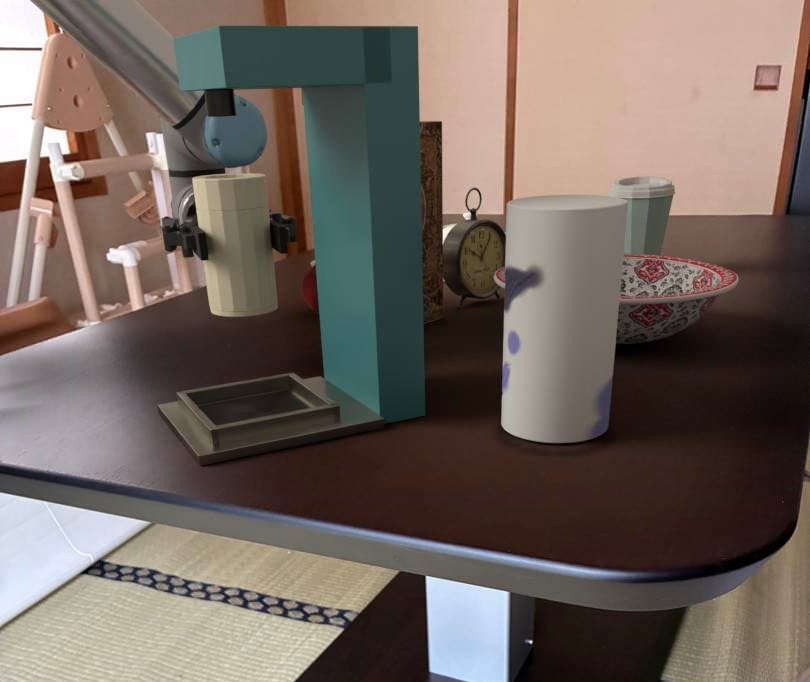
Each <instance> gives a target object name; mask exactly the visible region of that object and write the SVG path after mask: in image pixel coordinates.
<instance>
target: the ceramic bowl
mask: <svg viewBox="0 0 810 682" xmlns="http://www.w3.org/2000/svg"><path fill="white" fill-rule="evenodd" d="M494 280H495V282H496V283H497V284H498V285H499V286H501V287H500V288H502V289H504V290H505V284H506V281H505V266H504V267H502V268H500V269H498V270H497V271H496V272H495V275H494ZM738 283H739V276H738V274H737V273H736V272H735V271H733V270H731V269H729V268H727V267H725V266H722V265H719V264H715V263H713V262H712V263H711V262H709V261H704V260H698V259H693V258H692V259H691V258H687V257H686V258H685V257H680V256H679V257H678V256H670V255H661V254H660V255H646V254H624V255H623V266H622V277H621V289H620V300H619V311H618V323H617V334H616V345H631V344H632V345H633V344H641V343H649V342H652V341H657V340H661V339H665V338H668V337H671V336H673V335H676V334H677V333H680V332H681V331H684V330H685V329H687V328H688V327H690V326H691V325H693V324H694V323H695V322H697V321H698V320H699V319H701V318H702V316H703V315H705V314H706V313H707V311H708V310H710V308H711V307H712V306H713V304H715V302H716V300H717V299H718V298H719V295H722V294H725V293H727V292H730V291H732V290H733V289H735V288H736V287H737V286H738Z"/></svg>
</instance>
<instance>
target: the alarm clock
mask: <svg viewBox="0 0 810 682" xmlns="http://www.w3.org/2000/svg"><path fill="white" fill-rule="evenodd" d="M473 191H476V192H477V193H478V197H479V203H478V205H477V207H472V208H470V207H469V204H468V199H469V196H470V194H471V192H473ZM482 200H483V199H482V193H481V191H480V189H479V188H477V187H471V188H469V190H468V191H467V193H466V195H465V200H464V204H465V207H466V209H467V212H470V213H471V219H470V220H466V219H464V220H461V221H459V222H457V223H455V224H456V225H455V226H454V227H453V228H452V229H451V230H450V232H449V233H448V234H447V236H446V238H445V240H444V243H443V278H444V281H445V285H446V286H447V288H448V289H449V290H450V291H451V292H452V293H454V294H455V295H456V296H459V299H458V303H457V305H456V310H460V309H461V306H462V304H463V303H464V301H465V300H466V299H467V298H469V299H470V298H471V299H477V300H484V299H488V298H490V297H492V296H493V295H494V296H495V298H496V299H497V300H500V298H501V295H500V294H499V293H498V291H499V290H500V289H501V288H502V287H501V286H499V285H498V284H497V283H496V282H495V280H494V275H495V272H496V271H497V270H498V269H500V268H502V267H504V266H505V255H506V235H505V233H504V232H505V231H504V229H503V227H502V226H501V225H500V224H498V223H497V222H496V221H494V220H491V219H478V216H476V213H478V212H477V211H478V210H480V207H481V205H482ZM444 281H443V282H444Z"/></svg>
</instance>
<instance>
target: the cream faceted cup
mask: <svg viewBox="0 0 810 682" xmlns="http://www.w3.org/2000/svg"><path fill="white" fill-rule="evenodd" d="M192 181H193V189H194V196H195V203H196V208H197V209H196V211H197V218H198V226H199V228H200V229H202V230H203V231H204V232H205V236H206V243H207V251H208V258H209V260H203V261H202V263H203V269H204V276H205V283H206V285H205V286H206V292H207V297H208V306H209V309H210V313H211V314H212V315H215V316H217V317H218V316H219V317H226V318H227V317H228V318H243V317H244V318H245V317H246V318H247V317H254V316H261V315H265V314H269V313H272V312H275V311H276V310H277V309H278V308H279V305H278V302H279V301H278V291H277V281H276V269H275V261H274V260H275V259H274V249H273V248H272V238H271V228H270V218H269V210H270V208H269V199H268V198H269V197H268V188H267V177H266V174H264V173H255V172H239V173H236V172H235V173H234V172H233V173H225V174H215V175H204V176H198V177H194V178H192Z"/></svg>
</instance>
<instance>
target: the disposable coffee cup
mask: <svg viewBox="0 0 810 682" xmlns="http://www.w3.org/2000/svg"><path fill="white" fill-rule="evenodd" d="M675 189H676V187H675V184H673V180H671V179H669V178H666V177H659V176H652V175H651V176H650V175H648V176H629V177H622V178H618V179H616V180H614V181H613V183H612V187H610V189H609V193H608V196H610V197H617V198H622V199H625V200H627V201H628V210H627V221H626V232H625V243H624V254H646V255H660V256H661V253H662V248H663V244H664V239H665V235H666V230H667V226H668V223H669V218H670V213H671V208H672V204H673V199H674V195H676V191H675Z"/></svg>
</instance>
